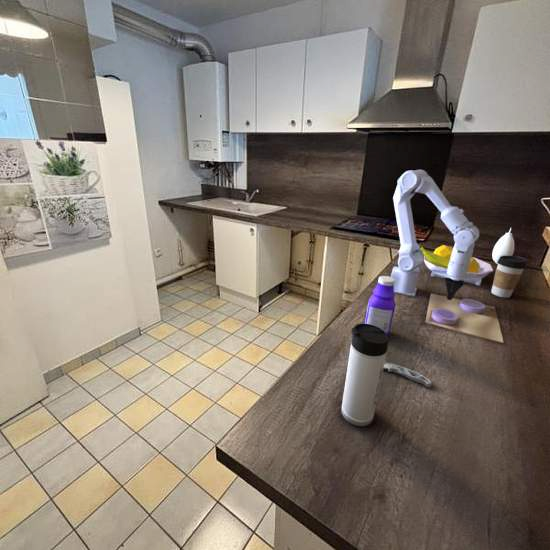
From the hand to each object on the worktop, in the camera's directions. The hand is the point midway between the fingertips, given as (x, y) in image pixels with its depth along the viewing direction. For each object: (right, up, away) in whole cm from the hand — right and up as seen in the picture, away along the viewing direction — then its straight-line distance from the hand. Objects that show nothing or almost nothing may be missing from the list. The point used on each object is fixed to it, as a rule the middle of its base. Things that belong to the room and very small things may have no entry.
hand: (449, 298), depth 102 cm
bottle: (-31, -9, -16) cm, 36 cm away
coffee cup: (+25, +1, +9) cm, 26 cm away
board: (0, -5, -6) cm, 8 cm away
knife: (-33, -15, -31) cm, 48 cm away
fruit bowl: (+17, +9, +28) cm, 34 cm away
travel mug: (-45, -20, -43) cm, 65 cm away
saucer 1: (-7, -6, -9) cm, 13 cm away
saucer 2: (+6, -3, -3) cm, 7 cm away
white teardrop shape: (+49, +22, +37) cm, 65 cm away
